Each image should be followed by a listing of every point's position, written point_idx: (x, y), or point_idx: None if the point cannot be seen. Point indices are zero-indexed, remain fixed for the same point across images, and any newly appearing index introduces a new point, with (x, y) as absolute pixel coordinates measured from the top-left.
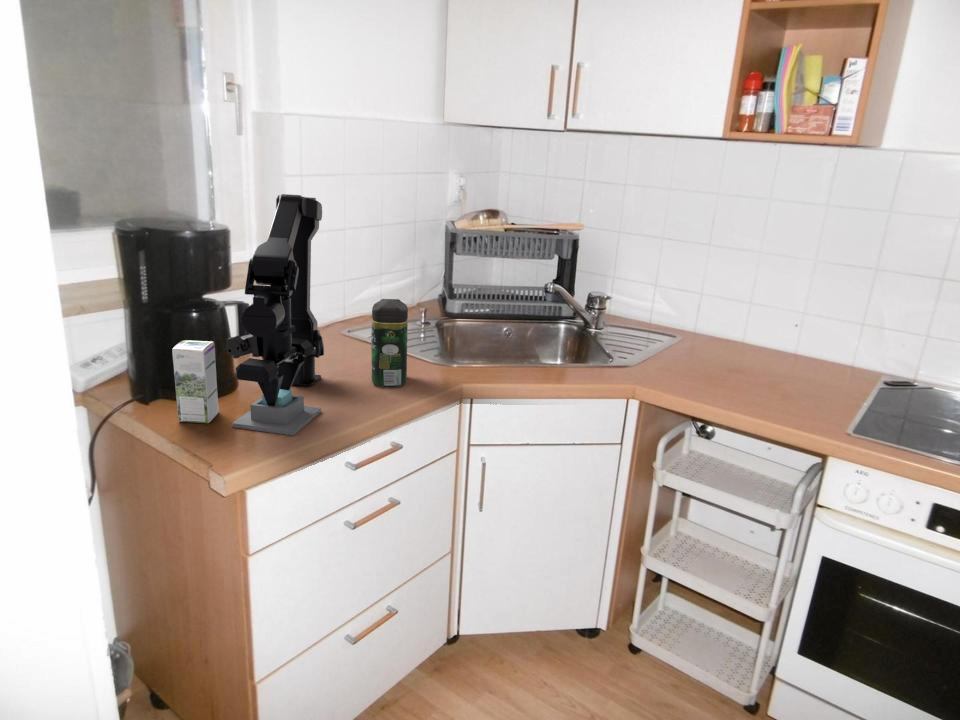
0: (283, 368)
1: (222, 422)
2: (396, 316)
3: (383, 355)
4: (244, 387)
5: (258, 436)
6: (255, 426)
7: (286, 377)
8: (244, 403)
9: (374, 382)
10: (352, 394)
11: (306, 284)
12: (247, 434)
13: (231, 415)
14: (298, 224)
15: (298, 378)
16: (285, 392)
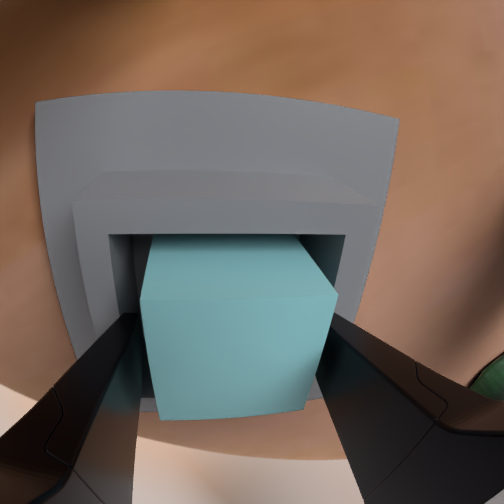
0: (423, 482)
1: (90, 16)
2: None
3: None
4: (500, 6)
5: (17, 270)
6: (46, 238)
7: (368, 444)
8: (375, 17)
9: (485, 377)
10: (453, 359)
11: None
12: (9, 217)
13: (196, 5)
14: None
15: None
16: (261, 401)
